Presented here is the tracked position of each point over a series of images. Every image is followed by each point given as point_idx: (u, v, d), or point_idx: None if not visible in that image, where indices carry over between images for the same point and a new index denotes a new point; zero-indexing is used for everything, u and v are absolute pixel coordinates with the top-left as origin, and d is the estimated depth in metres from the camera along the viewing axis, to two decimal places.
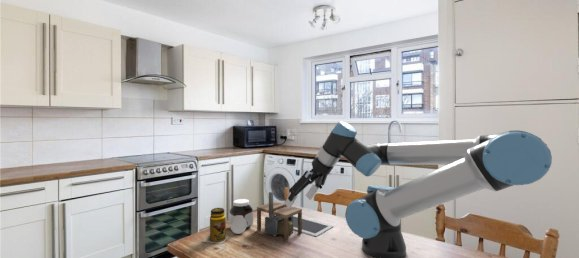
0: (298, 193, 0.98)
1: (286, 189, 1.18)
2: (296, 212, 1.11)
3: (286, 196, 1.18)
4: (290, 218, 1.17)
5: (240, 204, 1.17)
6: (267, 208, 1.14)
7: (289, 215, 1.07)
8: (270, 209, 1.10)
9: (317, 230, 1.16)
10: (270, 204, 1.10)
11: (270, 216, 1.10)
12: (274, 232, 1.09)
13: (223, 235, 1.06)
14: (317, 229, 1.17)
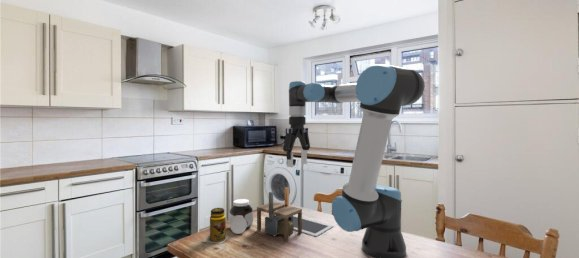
0: (291, 149, 1.19)
1: (286, 189, 1.18)
2: (296, 212, 1.11)
3: (286, 196, 1.18)
4: (290, 218, 1.17)
5: (240, 204, 1.17)
6: (267, 208, 1.14)
7: (289, 215, 1.07)
8: (270, 209, 1.10)
9: (317, 230, 1.16)
10: (270, 204, 1.10)
11: (270, 216, 1.10)
12: (274, 232, 1.09)
13: (223, 235, 1.06)
14: (317, 229, 1.17)
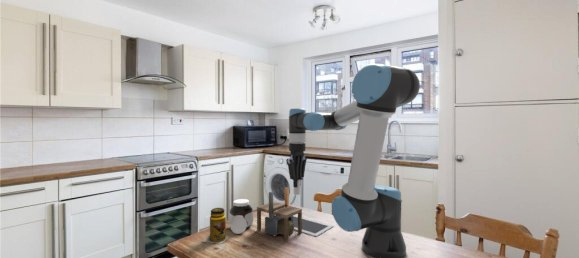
0: (297, 177, 1.23)
1: (286, 189, 1.18)
2: (296, 212, 1.11)
3: (286, 196, 1.18)
4: (290, 218, 1.17)
5: (240, 204, 1.17)
6: (267, 208, 1.14)
7: (289, 215, 1.07)
8: (270, 209, 1.10)
9: (317, 230, 1.16)
10: (270, 204, 1.10)
11: (270, 216, 1.10)
12: (274, 232, 1.09)
13: (223, 235, 1.06)
14: (317, 229, 1.17)
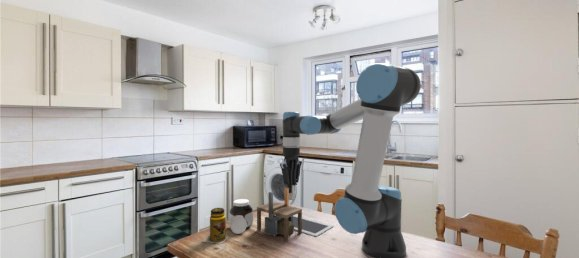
0: (292, 182, 1.19)
1: (286, 189, 1.18)
2: (296, 212, 1.11)
3: (286, 196, 1.18)
4: (290, 218, 1.17)
5: (240, 204, 1.17)
6: (267, 208, 1.14)
7: (289, 215, 1.07)
8: (270, 209, 1.10)
9: (317, 230, 1.16)
10: (270, 204, 1.10)
11: (270, 216, 1.10)
12: (274, 232, 1.09)
13: (223, 235, 1.06)
14: (317, 229, 1.17)
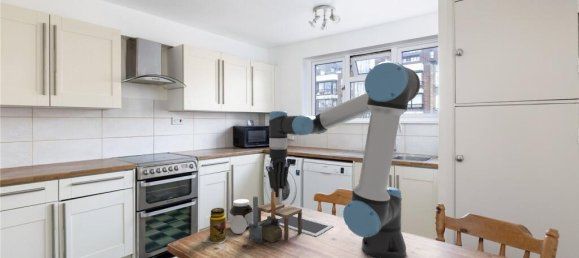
0: (279, 186, 1.13)
1: (272, 193, 1.11)
2: (296, 212, 1.11)
3: (272, 201, 1.11)
4: (276, 224, 1.10)
5: (240, 204, 1.17)
6: (267, 208, 1.14)
7: (289, 215, 1.07)
8: (254, 215, 1.04)
9: (317, 230, 1.16)
10: (254, 209, 1.04)
11: (254, 222, 1.04)
12: (258, 239, 1.02)
13: (223, 235, 1.06)
14: (317, 229, 1.17)
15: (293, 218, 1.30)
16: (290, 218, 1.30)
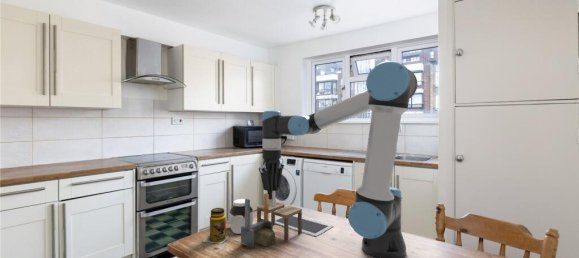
0: (272, 187, 1.10)
1: (265, 195, 1.08)
2: (296, 212, 1.11)
3: (265, 203, 1.08)
4: (269, 227, 1.07)
5: (240, 204, 1.17)
6: None
7: (289, 215, 1.07)
8: (246, 218, 1.00)
9: (317, 230, 1.16)
10: (246, 212, 1.00)
11: (246, 225, 1.01)
12: (250, 243, 0.99)
13: (223, 235, 1.06)
14: (317, 229, 1.17)
15: (293, 218, 1.30)
16: (290, 218, 1.30)
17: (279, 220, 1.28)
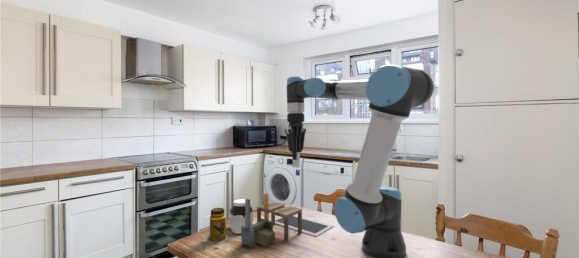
0: (297, 148, 1.17)
1: (266, 195, 1.08)
2: (296, 212, 1.11)
3: (266, 203, 1.08)
4: (270, 227, 1.07)
5: (240, 204, 1.17)
6: None
7: (289, 215, 1.07)
8: (247, 218, 1.01)
9: (317, 230, 1.16)
10: (247, 212, 1.00)
11: (247, 225, 1.01)
12: (251, 243, 0.99)
13: (223, 235, 1.06)
14: (317, 229, 1.17)
15: (293, 218, 1.30)
16: (290, 218, 1.30)
17: (279, 220, 1.28)
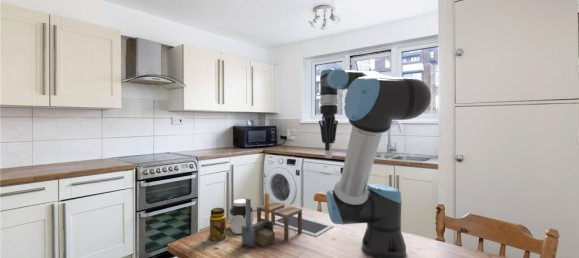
0: (329, 140, 1.20)
1: (266, 195, 1.08)
2: (296, 212, 1.11)
3: (266, 203, 1.08)
4: (270, 227, 1.07)
5: (240, 204, 1.17)
6: None
7: (289, 215, 1.07)
8: (247, 217, 1.01)
9: (317, 230, 1.16)
10: (247, 212, 1.01)
11: (247, 225, 1.01)
12: (251, 243, 1.00)
13: (223, 235, 1.06)
14: (317, 229, 1.17)
15: (293, 218, 1.30)
16: (290, 218, 1.30)
17: (279, 220, 1.28)
